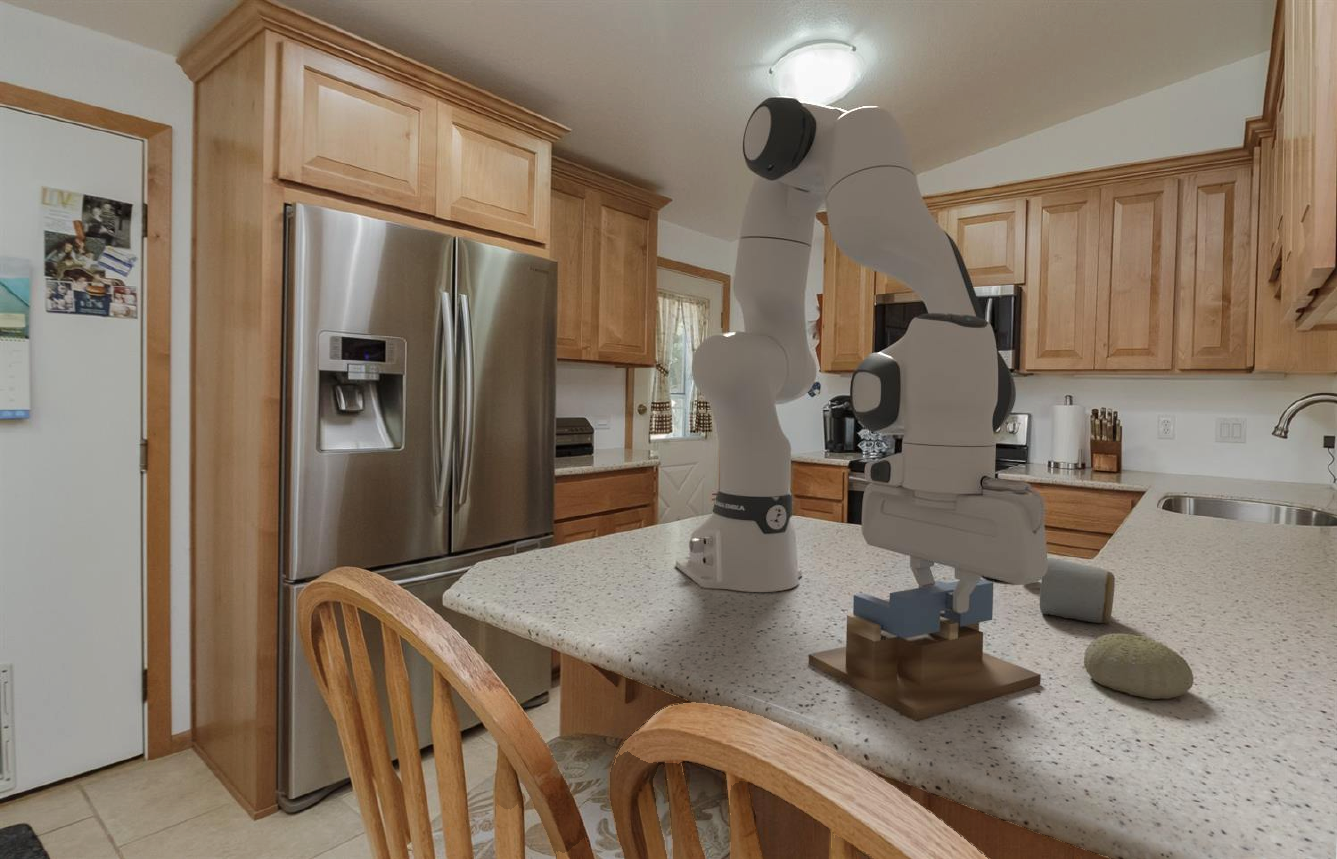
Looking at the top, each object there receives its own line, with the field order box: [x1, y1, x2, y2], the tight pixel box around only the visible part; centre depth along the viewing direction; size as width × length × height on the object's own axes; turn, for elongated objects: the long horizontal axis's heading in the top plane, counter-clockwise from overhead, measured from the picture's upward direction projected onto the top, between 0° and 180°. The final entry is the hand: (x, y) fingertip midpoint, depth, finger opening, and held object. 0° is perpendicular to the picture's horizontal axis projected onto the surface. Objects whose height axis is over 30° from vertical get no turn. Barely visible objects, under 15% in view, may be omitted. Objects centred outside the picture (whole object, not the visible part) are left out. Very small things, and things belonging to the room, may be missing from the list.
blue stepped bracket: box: [852, 579, 994, 639], centre depth 72 cm, size 7×13×4 cm, turn 118°
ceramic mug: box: [1039, 557, 1116, 624], centre depth 93 cm, size 11×8×8 cm
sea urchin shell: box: [1083, 633, 1195, 700], centre depth 71 cm, size 9×8×8 cm
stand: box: [808, 598, 1042, 722], centre depth 73 cm, size 15×18×7 cm
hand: (942, 605), depth 70 cm, fingers closed on blue stepped bracket, 2 cm apart
